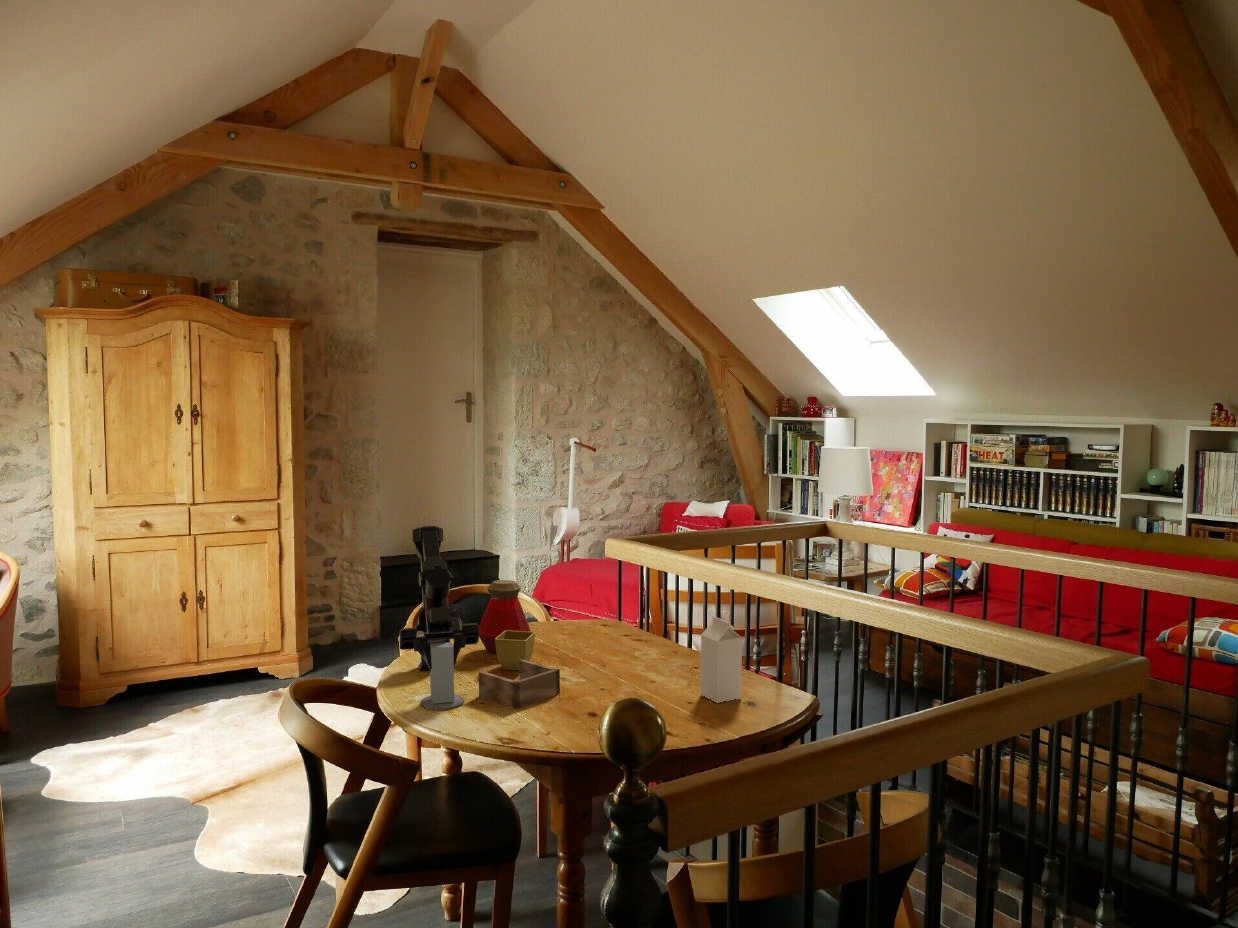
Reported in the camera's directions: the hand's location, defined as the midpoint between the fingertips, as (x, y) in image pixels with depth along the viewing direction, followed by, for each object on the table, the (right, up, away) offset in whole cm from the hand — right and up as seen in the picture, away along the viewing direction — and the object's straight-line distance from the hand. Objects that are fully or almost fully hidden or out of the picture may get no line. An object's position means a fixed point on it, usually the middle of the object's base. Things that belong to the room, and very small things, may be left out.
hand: (442, 667), depth 212 cm
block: (0, -8, +1) cm, 8 cm away
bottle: (+9, -6, +46) cm, 47 cm away
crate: (+17, -8, +8) cm, 20 cm away
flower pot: (+14, -7, +30) cm, 33 cm away
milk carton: (+66, -9, +6) cm, 67 cm away
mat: (0, -9, +2) cm, 9 cm away
